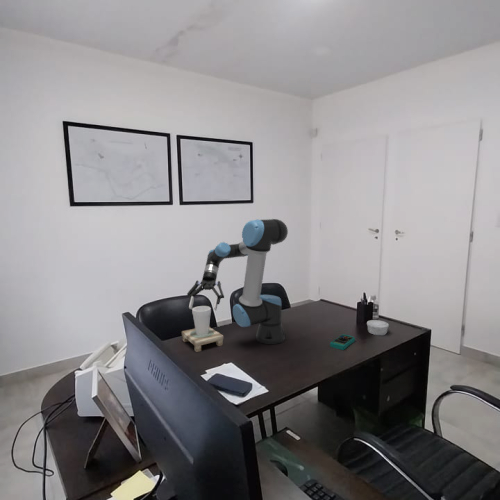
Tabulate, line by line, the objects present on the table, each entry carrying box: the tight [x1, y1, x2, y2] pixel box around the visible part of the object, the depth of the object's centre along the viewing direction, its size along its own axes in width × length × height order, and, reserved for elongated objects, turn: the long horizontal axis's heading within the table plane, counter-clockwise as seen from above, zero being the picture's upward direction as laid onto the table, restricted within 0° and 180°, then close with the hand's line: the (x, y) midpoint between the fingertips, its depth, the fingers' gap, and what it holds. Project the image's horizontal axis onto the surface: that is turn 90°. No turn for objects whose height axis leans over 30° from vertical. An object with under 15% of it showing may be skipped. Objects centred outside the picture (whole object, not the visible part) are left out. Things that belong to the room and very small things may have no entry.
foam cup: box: [191, 305, 212, 335], centre depth 173 cm, size 10×9×13 cm
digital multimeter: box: [329, 334, 356, 351], centre depth 171 cm, size 7×15×3 cm, turn 141°
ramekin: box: [366, 319, 390, 336], centre depth 185 cm, size 11×11×5 cm
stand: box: [181, 326, 224, 353], centre depth 174 cm, size 18×15×5 cm
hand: (202, 308), depth 176 cm, fingers open, 13 cm apart
